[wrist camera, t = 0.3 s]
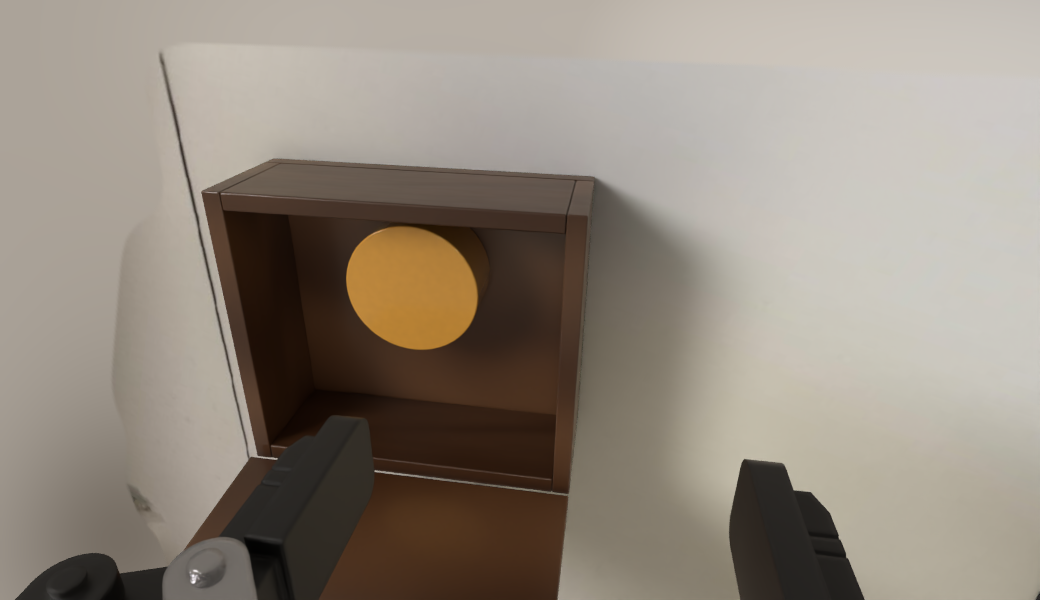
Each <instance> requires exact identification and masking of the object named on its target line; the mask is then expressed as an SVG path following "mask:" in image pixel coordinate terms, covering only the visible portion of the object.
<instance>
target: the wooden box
mask: <svg viewBox="0 0 1040 600" xmlns="http://www.w3.org/2000/svg"><path fill="white" fill-rule="evenodd" d="M594 183H595V178H594V177H589V176H572V175H554V174H537V173H519V172H501V171H484V170H466V169H448V168H431V167H413V166H396V165H378V164H360V163H343V162H325V161H307V160H290V159H272V160H270V161H267V162H265V163H263V164H261V165H258V166H256V167H254V168H252V169H249V170H247V171H245V172H243V173H241V174H238V175H236V176H234V177H232V178H230V179H227V180H225V181H223V182H221V183H218V184H216V185H214V186H212V187H210V188H207V189H205V190H203V191H202V192H201V193H202V197H203V202H204V207H205V211H206V216H207V221H208V225H209V230H210V235H211V240H212V244H213V249H214V254H215V258H216V263H217V268H218V272H219V277H220V282H221V286H222V291H223V296H224V300H225V305H226V310H227V314H228V319H229V324H230V328H231V333H232V338H233V342H234V347H235V352H236V356H237V361H238V366H239V370H240V375H241V380H242V384H243V389H244V394H245V398H246V403H247V408H248V412H249V417H250V422H251V426H252V431H253V436H254V440H255V445H256V450H257V455H258V456H263V457H274V458H279V457H280V455H281V454H282V453H283V451H284V450H285V449H286V448H288V447H289V446H291V445H292V444H293V443H295V442H296V441H298V440H299V439H301V438H302V437H304V436H305V435H307V436H316V435H317V433H318V432H319V430H320V429H321V428H322V426H323V425H324V423H325V422H326V421H327V419H328V418H329V417H330V416H332V415H340V416H349V417H359V418H365V419H367V421H368V424H369V429H370V438H371V446H372V455H373V463H374V470H378V471H386V472H394V473H402V474H411V475H419V476H427V477H435V478H443V479H451V480H459V481H468V482H476V483H484V484H492V485H500V486H508V487H516V488H525V489H533V490H541V491H549V492H551V491H553V492H556V493H565V494H568V493H569V489H570V480H571V472H572V463H573V454H574V445H575V436H576V427H577V418H578V404H579V390H580V377H581V363H582V349H583V335H584V321H585V308H586V294H587V280H588V266H589V252H590V239H591V225H592V211H593V197H594ZM382 222H396V223H411V224H425V225H440V226H454V227H469V228H471V230H472V231H473V232H474V233H475V234H476V235H477V237H478V238H479V240H480V241H481V243H482V245H483V247H484V249H485V251H486V254H487V257H488V261H489V266H490V280H489V285H488V289H487V292H486V294H485V297H484V299H483V301H482V303H481V305H480V307H479V309H478V311H477V313H476V316H475V318H474V320H473V321H472V323H471V325H470V327H469V328H468V329H467V330H466V332H465V333H464V334H463V335H462V336H460V337H459V338H458V339H456V340H455V341H453V342H452V343H450V344H448V345H445V346H442V347H439V348H435V349H429V350H414V349H408V348H404V347H400V346H397V345H395V344H392V343H390V342H388V341H386V340H384V339H382V338H381V337H379V336H378V335H376V334H375V333H374V332H373V331H371V330H370V329H369V328H368V327H367V326H366V325H365V324H364V323H363V321H362V320H361V319H360V317H359V316H358V315H357V313H356V311H355V310H354V308H353V306H352V303H351V301H350V298H349V295H348V290H347V283H346V275H347V267H348V263H349V260H350V258H351V255H352V253H353V252H354V250H355V248H356V247H357V246H358V245H359V243H360V242H361V241H362V240H363V239H365V238H366V237H367V236H368V235H369V234H370V233H371V232H372V231H373V230H374V229H375V228H377V227H378V226H379V225H380V224H381V223H382Z"/></svg>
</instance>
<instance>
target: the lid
mask: <svg viewBox="0 0 1040 600" xmlns="http://www.w3.org/2000/svg"><path fill="white" fill-rule="evenodd" d="M275 462H276V460H271V459H263V458H255V457H251V458H250V459H249V460H248V462H247V463H246V464H245V466H244V467H243V469H242V470H241V471H240V473H239V474H238V476H237V477H236V478H235V480H234V481H233V482H232V484H231V485H230V487H229V488H228V489H227V491H226V492H225V494H224V495H223V496H222V498H221V499H220V501H219V502H218V503H217V505H216V506H215V507H214V509H213V510H212V512H211V513H210V514H209V516H208V517H207V519H206V520H205V521H204V523H203V524H202V526H201V527H200V528H199V530H198V531H197V532H196V534H195V535H194V537H193V538H192V539H191V541H190V542H189V544H188V545H187V546H186V548H185V549H184V550H186V549H187V548H189V547H190V546H192V545H194V544H196V543H199V542H201V541H204V540H208V539H211V538H217V537H219V535H220V534H221V533H222V531H223V530H224V529H225V527H226V526H227V525H228V523H229V522H230V521H231V520H232V518H233V517H234V516H235V514H236V513H237V512H238V510H239V509H240V508H241V506H242V505H243V504H244V502H245V501H246V500H247V499H248V497H249V496H250V495H251V493H252V492H253V491H254V489H255V488H256V487H257V485H260V484H261V480H262V479H263V478H264V476H265V475H266V474H267V472H268V471H269V470H271V469H272V466H273V464H274V463H275ZM374 473H375V477H374V486H373V491H372V495H371V498H370V500H369V502H368V504H367V506H366V508H365V510H364V512H363V514H362V516H361V518H360V520H359V522H358V524H357V526H356V528H355V530H354V532H353V534H352V535H351V537H350V539H349V541H348V543H347V545H346V547H345V549H344V551H343V553H342V555H341V557H340V559H339V561H338V563H337V565H336V567H335V569H334V571H333V573H332V574H331V576H330V578H329V580H328V582H327V584H326V586H325V588H324V590H323V592H322V594H321V596H320V598H319V600H558V592H559V583H560V574H561V564H562V555H563V546H564V537H565V528H566V519H567V510H568V496H563V495H555V494H547V493H539V492H531V491H523V490H515V489H507V488H498V487H490V486H482V485H474V484H466V483H458V482H450V481H442V480H433V479H425V478H417V477H409V476H401V475H393V474H385V473H377V472H374Z"/></svg>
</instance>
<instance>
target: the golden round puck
mask: <svg viewBox="0 0 1040 600" xmlns="http://www.w3.org/2000/svg"><path fill="white" fill-rule="evenodd" d="M489 280H490V266H489V261H488V257H487V254H486V251H485V249H484V247H483V245H482V243H481V241H480V240H479V238H478V237H477V235H476V234H475V233H474V232H473V231H472V230H471V228H469V227H454V226H440V225H425V224H411V223H396V222H382V223H381V224H380V225H379V226H378V227H377V228H375V229H374V230H373V231H372V232H371V233H370V234H369V235H368V236H367V237H366V238H365V239H363V240H362V241H361V242H360V243H359V245H358V246H357V247H356V248H355V250H354V252H353V253H352V255H351V258H350V260H349V263H348V267H347V275H346V283H347V290H348V295H349V298H350V301H351V303H352V306H353V308H354V310H355V311H356V313H357V315H358V316H359V317H360V319H361V320H362V321H363V323H364V324H365V325H366V326H367V327H368V328H369V329H370V330H371V331H373V332H374V333H375V334H376V335H378V336H379V337H381V338H382V339H384V340H386V341H388V342H390V343H392V344H395V345H397V346H400V347H404V348H408V349H414V350H429V349H435V348H439V347H442V346H445V345H448V344H450V343H452V342H453V341H455V340H456V339H458V338H459V337H460V336H462V335H463V334H464V333H465V332H466V330H467V329H468V328H469V327H470V325H471V323H472V321H473V320H474V318H475V316H476V313H477V311H478V309H479V307H480V305H481V303H482V301H483V299H484V297H485V294H486V292H487V289H488V285H489Z"/></svg>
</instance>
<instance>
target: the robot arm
mask: <svg viewBox="0 0 1040 600" xmlns="http://www.w3.org/2000/svg"><path fill="white" fill-rule="evenodd" d="M374 477H375V473H374V463H373V455H372V446H371V438H370V429H369V424H368V421H367V419H365V418H359V417H349V416H340V415H332V416H330V417H329V418H328V419H327V421H326V422H325V423H324V425H323V426H322V428H321V429H320V430H319V432H318V433H317V435H316V436H307V435H305V436H304V437H302V438H301V439H299V440H298V441H296V442H295V443H293V444H292V445H291V446H289V447H288V448H286V449H285V450H284V451H283V453H282V454H281V455H280V457H279V458H278V459H277V460H276V462H275V463H274V464H273V466H272V469H271V470H269V471H268V472H267V474H266V475H265V476H264V478H263V479H262V480H261V484H260V485H257V487H256V488H255V489H254V491H253V492H252V493H251V495H250V496H249V497H248V499H247V500H246V501H245V502H244V504H243V505H242V506H241V508H240V509H239V510H238V512H237V513H236V514H235V516H234V517H233V518H232V520H231V521H230V522H229V523H228V525H227V526H226V527H225V529H224V530H223V531H222V533H221V534H220V535H219V537H217V538H211V539H208V540H204V541H201V542H199V543H196V544H194V545H192V546H190V547H189V548H187V549H186V550H184V551H183V552H181V553H180V554H179V555H178V556H177V557H176V558H175V559H174V560H173V561H172V562H171V563H170V564H169V566H168V567H163V568H156V569H149V570H142V571H135V572H128V573H121V574H120V573H119V571H118V569H117V566H116V563H115V561H114V560H113V559H112V558H111V557H109V556H107V555H104V554H99V553H89V554H82V555H78V556H75V557H71V558H68V559H66V560H64V561H62V562H59V563H57V564H56V565H54V566H52V567H50V568H49V569H47V570H46V571H44V572H43V573H42V574H41V575H39V576H38V577H37V578H36V579H35V580H34V581H32V582H31V583H30V585H29V586H28V587H27V588H26V589H25V590H24V591H23V592H22V593H21V594H20V595H19V596H18V597H17V598H16V599H15V600H319V598H320V596H321V594H322V592H323V590H324V588H325V586H326V584H327V582H328V580H329V578H330V576H331V574H332V573H333V571H334V569H335V567H336V565H337V563H338V561H339V559H340V557H341V555H342V553H343V551H344V549H345V547H346V545H347V543H348V541H349V539H350V537H351V535H352V534H353V532H354V530H355V528H356V526H357V524H358V522H359V520H360V518H361V516H362V514H363V512H364V510H365V508H366V506H367V504H368V502H369V500H370V498H371V495H372V491H373V486H374ZM838 536H839V535H838V532H837V530H836V528H835V525H834V523H833V520H832V518H831V515H830V513H829V512H828V511H827V510H826V508H825V507H824V506H823V505H822V504H821V503H820V502H819V501H818V500H817V499H816V498H815V496H814V495H813V494H812V493H811V492H803V491H794V490H793V488H792V485H791V482H790V479H789V476H788V473H787V470H786V468H785V466H784V464H783V463H776V462H766V461H757V460H747V459H744V460H743V462H742V464H741V468H740V472H739V477H738V482H737V487H736V491H735V496H734V501H733V505H732V510H731V515H730V524H729V538H730V547H731V553H732V558H733V563H734V568H735V573H736V578H737V584H738V589H739V594H740V599H741V600H864V597H863V595H862V592H861V590H860V587H859V585H858V582H857V580H856V577H855V575H854V572H853V570H852V567H851V565H850V562H849V560H848V558H846V552H845V550H844V547H843V545H842V542H841V540H839V538H838Z"/></svg>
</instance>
